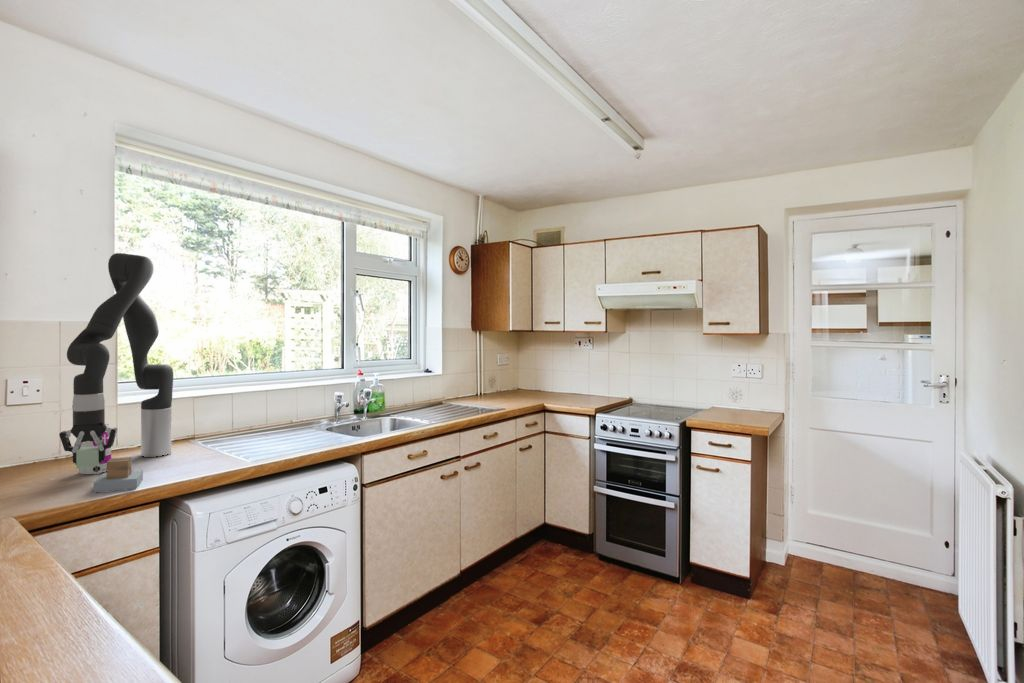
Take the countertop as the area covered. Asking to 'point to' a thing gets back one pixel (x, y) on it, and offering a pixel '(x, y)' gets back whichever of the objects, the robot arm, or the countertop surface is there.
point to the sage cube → (87, 456)
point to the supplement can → (102, 466)
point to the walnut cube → (118, 467)
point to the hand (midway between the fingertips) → (89, 462)
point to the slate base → (118, 482)
